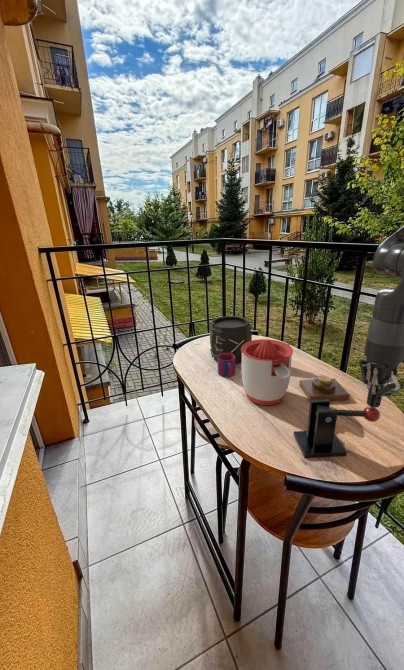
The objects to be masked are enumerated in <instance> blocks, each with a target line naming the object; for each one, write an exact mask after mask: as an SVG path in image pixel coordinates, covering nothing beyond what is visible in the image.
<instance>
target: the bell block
mask: <svg viewBox="0 0 404 670" xmlns="http://www.w3.org/2000/svg"><path fill="white" fill-rule="evenodd" d="M330 378H331V385H329V386H323V385H320V384H318V383H317V381H318V376H316V377H314V378H313V379H312V378H311V379H300V380H299V387H300V389H301V390H302V392H303V393H304V395H305V396H306V398H307V399H308V401H309V402H310V401H311V400H324V399H328V400H329V401H330V402H340V401H341V402H342V401H343V402H344V401H350V393H349V392H348V391H347V389H345V388H344V386H342V385H341V384H340V382H338V380H336V378H332V377H330Z"/></svg>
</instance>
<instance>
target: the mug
mask: <svg viewBox="0 0 404 670" xmlns="http://www.w3.org/2000/svg"><path fill="white" fill-rule="evenodd" d="M216 362H217V374H218V375H219V376H220V377H223V378H229V377H233V376H234V375H236V364H235V355H233V354H231V353H222V354H219V355H218V356H217V361H216Z"/></svg>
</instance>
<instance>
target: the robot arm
mask: <svg viewBox="0 0 404 670" xmlns="http://www.w3.org/2000/svg"><path fill="white" fill-rule="evenodd" d="M372 268H373V270H374V272H375V273H377V274H378V275H380V276H382V277H388V278H396V279H400V281H399V283H398V285H397V286H396V287H393V288H392V287H391V288H389V287H388V288H384V289H381V290H379V291H378V292H377V293H376V295H375V299H374V302H373V303H374V304H373V308H372V314H371V318H370V321H369V324H368V328H367V334H366V340H365V344H364V350H363V355H364V357H366V359H360V360H359V362H358V363H359V368H360V372H361V376H362V377H361V378H362V382H363V384H364V385H367V386H366V389H367V391H368V392H367V397H366V405H368V407H369V406H370V407H375V408H379V407H381V402H382V399H383V397H391V396H392V395H394V394H396V393H398V392H399V391H401V390H403V389H404V383H403V382H399V381H398V379H397V376H398V372H399V371H398V366H399V365H400V364H402V363H403V362H404V225H403V226H401V227H400V228H399V229H397V230H396V231H395V232H394V233H393V234H391V235H390V236H388V237H387V238H386V239H385V240H384V241H383V242H382V243H380V245H379V246H378V247H377V249H376V251H375V253H374V255H373V258H372Z"/></svg>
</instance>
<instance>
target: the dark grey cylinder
mask: <svg viewBox="0 0 404 670" xmlns="http://www.w3.org/2000/svg"><path fill="white" fill-rule="evenodd" d="M208 327H209V344H210V349H209V351H210V354H211V357H212V358H213V357H214V358H213V360H214V361H216V362H218V361H217V356H218V355H219V354H222V353H231V354H233V355H235V365H237V364H242V351H241V347H242V345H243V344H245V343H247V342H249V341H253V340H252V339H253V335H252V329H253V326H252V324H251V323H250V321H249V319H248V318H247V317H243V316H237V315H225V316H219V317H217V318H214V319H213V320H212V321H211V322H210V323H209V325H208Z"/></svg>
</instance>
